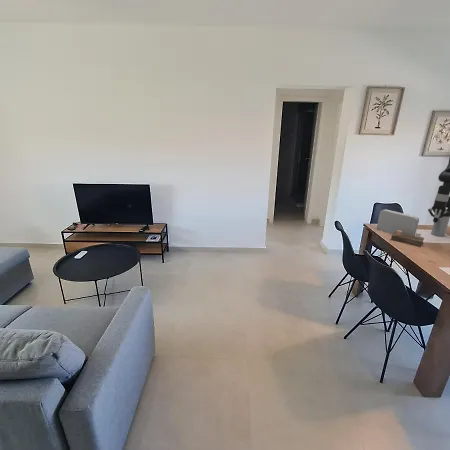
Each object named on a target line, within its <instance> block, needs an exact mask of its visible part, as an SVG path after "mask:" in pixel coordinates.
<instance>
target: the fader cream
mask: <svg viewBox="0 0 450 450" xmlns="http://www.w3.org/2000/svg"><path fill="white" fill-rule="evenodd" d="M421 234H422V232H418V231H416V234H415V237H417V238H420V237H422V235H421Z"/></svg>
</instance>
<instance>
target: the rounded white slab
mask: <svg viewBox="0 0 450 450" xmlns="http://www.w3.org/2000/svg"><path fill="white" fill-rule="evenodd" d="M419 223H420V219H419V217H418V216H416V215H411V214H407V213H403V212H399V211H394V210H389V209H382V210H380V211H379V215H378V220H377V224H376V229H377V230H378V229H379V230H378V231H381V230H382V232H384V231H385V233H387V234H391V235H393V233H394V232H395V231H396V232H397V230H400V231H402V233H405V234H409V235H414V236H415V235H416V232H417V230H418V226H419Z"/></svg>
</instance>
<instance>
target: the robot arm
mask: <svg viewBox="0 0 450 450" xmlns="http://www.w3.org/2000/svg"><path fill="white" fill-rule="evenodd" d="M438 181H439V182H441V183H442V185H440V186H439V187H438V191H437V193H436V195H435V198H434V202H433V205H432V207H431V208H428V209H427V211H428V213H429V214H430V216H431V217H432V218H433V219H432V222H433V225H432V228H431V233H430V234H431V235H432V236H438V237H444V236H445V234H446V232H447V228H448V225H449V222H450V157H449V158H448V163H447V165H446V168H445V169H444V170H443V171H441V172H440V174H439V175H438Z"/></svg>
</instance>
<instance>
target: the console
mask: <svg viewBox="0 0 450 450" xmlns="http://www.w3.org/2000/svg"><path fill="white" fill-rule="evenodd" d="M396 233H397V232H396V231H395V232H394V233H393V234H391V238H390V241H394V242H398V243H403V244H408V245H410V246H411V245H412V246H416V247H420V248H421V247H422V245H423V243H424V239H425V237H422V236H420V238H417V237H415V236H414V235H409V234H405V233H402V234H401V236H398V235H396Z"/></svg>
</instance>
